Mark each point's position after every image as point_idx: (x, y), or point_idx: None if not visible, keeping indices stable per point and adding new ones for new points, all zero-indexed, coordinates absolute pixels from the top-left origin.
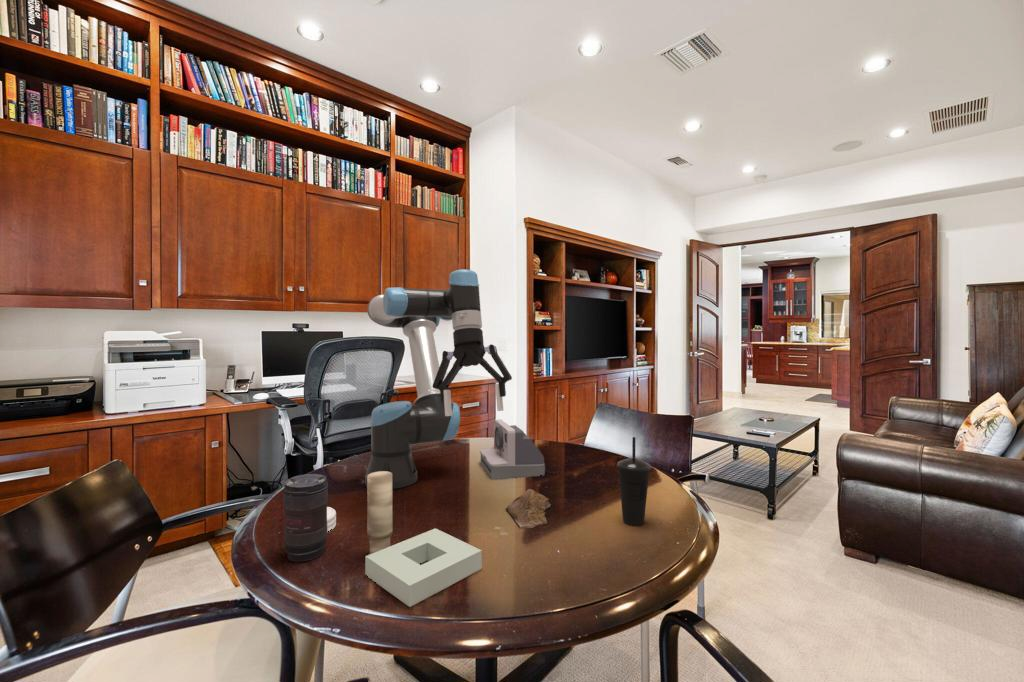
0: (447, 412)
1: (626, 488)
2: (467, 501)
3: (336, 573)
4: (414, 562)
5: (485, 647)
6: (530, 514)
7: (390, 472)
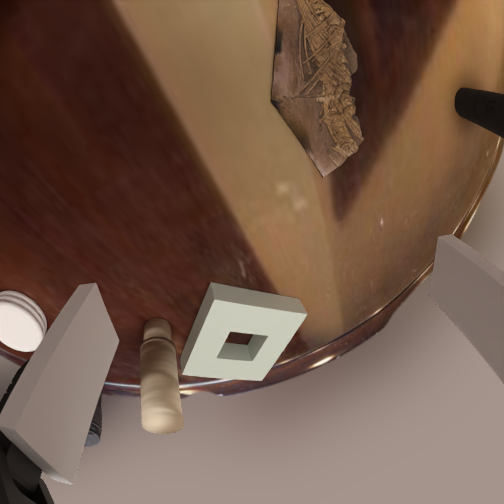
0: (112, 354)
1: (499, 134)
2: (158, 90)
3: None
4: (242, 361)
5: (329, 361)
6: (330, 116)
7: (167, 416)
